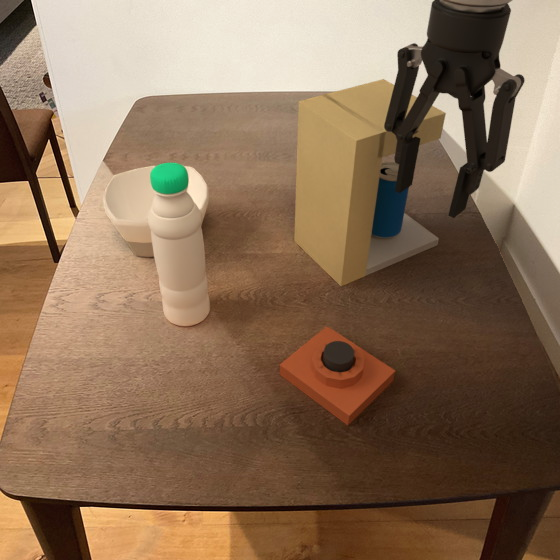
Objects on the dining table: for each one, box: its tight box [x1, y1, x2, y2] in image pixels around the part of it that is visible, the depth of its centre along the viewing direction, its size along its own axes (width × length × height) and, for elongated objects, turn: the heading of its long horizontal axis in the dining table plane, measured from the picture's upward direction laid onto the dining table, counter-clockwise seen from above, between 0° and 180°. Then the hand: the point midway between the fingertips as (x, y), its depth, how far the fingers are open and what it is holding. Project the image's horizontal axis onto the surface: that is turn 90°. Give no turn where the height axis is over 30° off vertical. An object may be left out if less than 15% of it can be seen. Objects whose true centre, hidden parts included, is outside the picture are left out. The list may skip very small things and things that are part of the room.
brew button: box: [323, 341, 354, 372], centre depth 76 cm, size 4×4×2 cm
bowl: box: [102, 165, 210, 258], centre depth 100 cm, size 18×18×9 cm
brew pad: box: [279, 326, 396, 426], centre depth 78 cm, size 12×10×4 cm
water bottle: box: [148, 162, 211, 327], centre depth 80 cm, size 7×7×25 cm
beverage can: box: [371, 161, 410, 239], centre depth 98 cm, size 6×6×12 cm
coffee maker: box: [293, 78, 447, 287], centre depth 93 cm, size 14×21×26 cm, turn 122°
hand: (429, 199), depth 71 cm, fingers open, 7 cm apart
